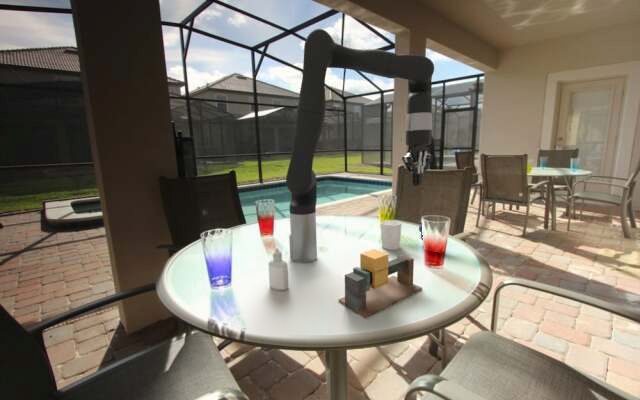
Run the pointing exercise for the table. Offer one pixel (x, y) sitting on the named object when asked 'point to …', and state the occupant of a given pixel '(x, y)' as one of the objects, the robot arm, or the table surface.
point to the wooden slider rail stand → (376, 300)
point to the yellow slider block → (375, 267)
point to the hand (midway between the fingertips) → (416, 185)
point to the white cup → (390, 234)
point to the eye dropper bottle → (278, 272)
